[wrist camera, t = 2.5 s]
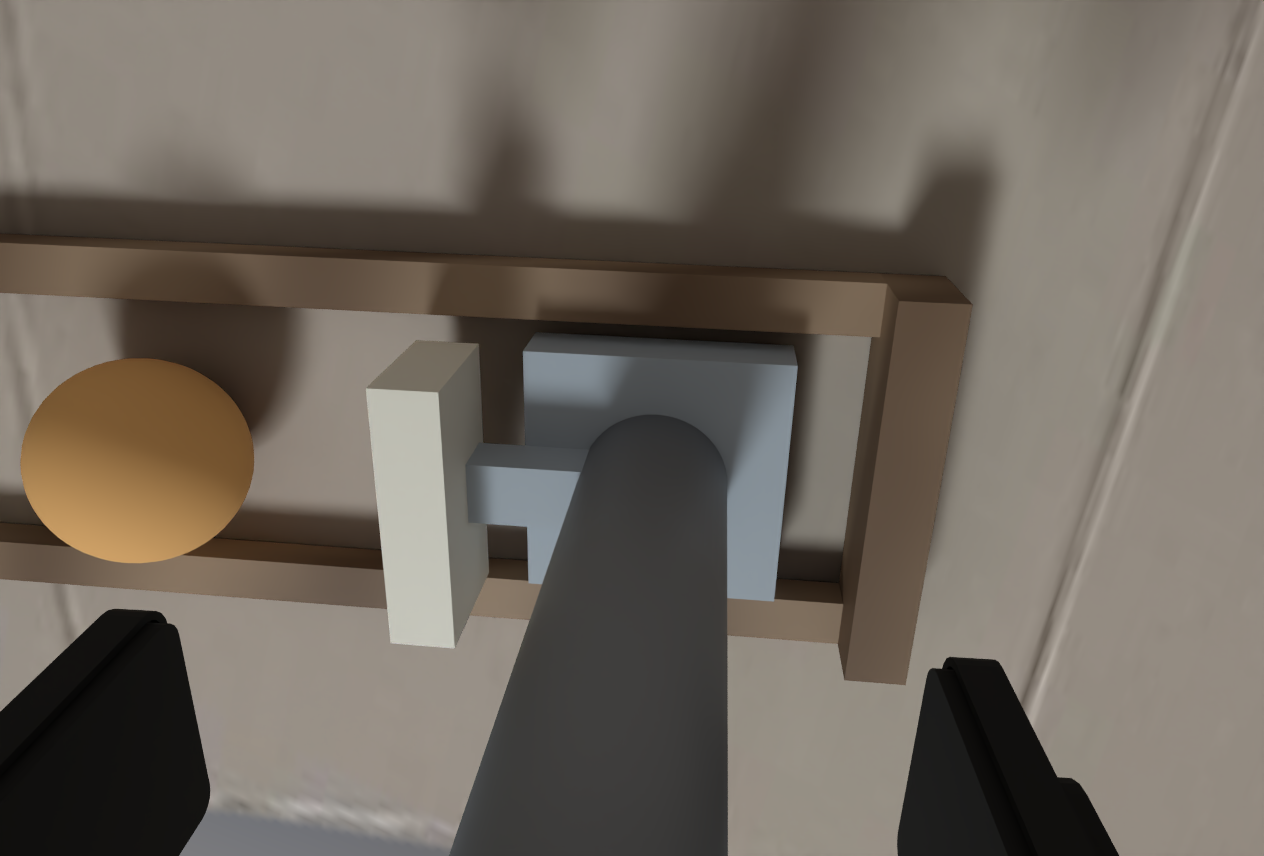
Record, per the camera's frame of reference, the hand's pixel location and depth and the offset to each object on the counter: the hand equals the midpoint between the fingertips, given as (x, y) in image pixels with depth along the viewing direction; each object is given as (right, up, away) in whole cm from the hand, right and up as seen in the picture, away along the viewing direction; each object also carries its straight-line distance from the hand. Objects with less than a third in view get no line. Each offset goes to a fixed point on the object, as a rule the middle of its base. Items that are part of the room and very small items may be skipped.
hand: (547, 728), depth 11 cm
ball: (-9, +3, +6) cm, 11 cm away
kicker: (+1, +3, +7) cm, 8 cm away
